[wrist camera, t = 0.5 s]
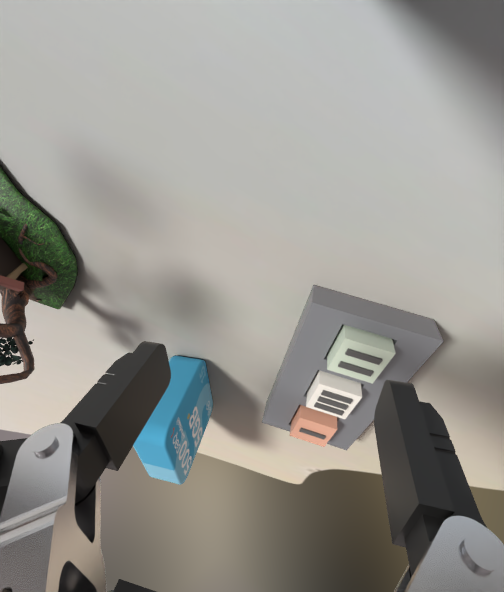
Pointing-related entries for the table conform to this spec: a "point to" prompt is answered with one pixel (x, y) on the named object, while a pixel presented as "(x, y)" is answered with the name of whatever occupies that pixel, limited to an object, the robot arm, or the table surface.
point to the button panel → (313, 356)
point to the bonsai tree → (28, 271)
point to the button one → (313, 425)
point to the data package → (177, 422)
